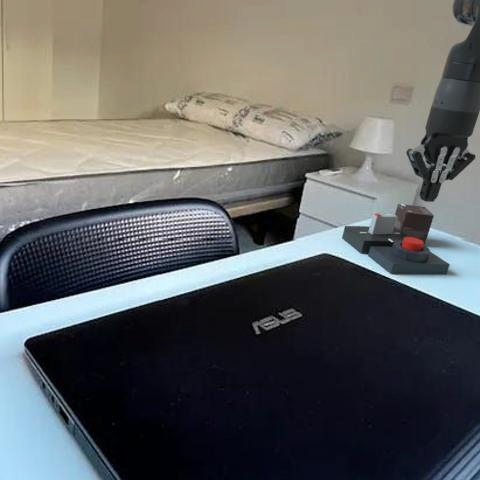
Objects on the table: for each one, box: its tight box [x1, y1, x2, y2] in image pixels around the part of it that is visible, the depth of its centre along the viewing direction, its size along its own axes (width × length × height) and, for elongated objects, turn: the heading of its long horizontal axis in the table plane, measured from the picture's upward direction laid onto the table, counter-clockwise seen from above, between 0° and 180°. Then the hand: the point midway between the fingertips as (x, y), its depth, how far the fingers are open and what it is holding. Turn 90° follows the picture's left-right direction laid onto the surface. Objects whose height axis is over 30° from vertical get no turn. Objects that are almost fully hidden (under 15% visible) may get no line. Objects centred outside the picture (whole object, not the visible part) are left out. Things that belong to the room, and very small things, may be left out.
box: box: [394, 203, 435, 246], centre depth 110 cm, size 6×6×7 cm
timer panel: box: [341, 224, 409, 255], centre depth 106 cm, size 12×9×3 cm
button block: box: [367, 240, 451, 275], centre depth 98 cm, size 12×8×4 cm, turn 99°
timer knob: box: [368, 213, 397, 235], centre depth 105 cm, size 5×1×4 cm, turn 104°
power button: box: [402, 237, 424, 251], centre depth 97 cm, size 4×4×2 cm
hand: (427, 200), depth 94 cm, fingers closed
